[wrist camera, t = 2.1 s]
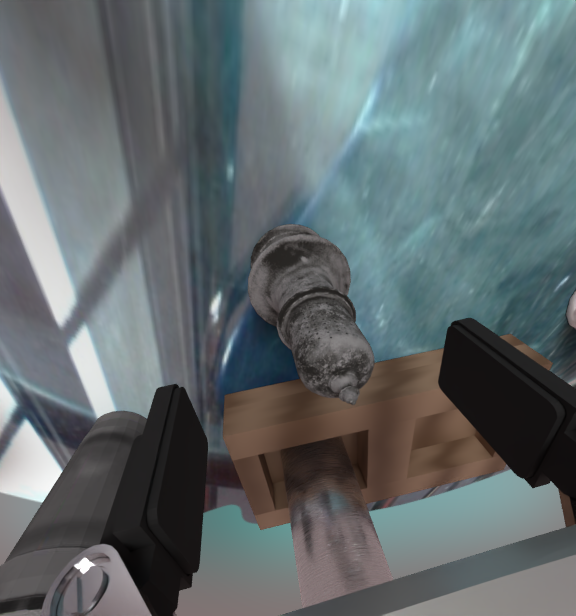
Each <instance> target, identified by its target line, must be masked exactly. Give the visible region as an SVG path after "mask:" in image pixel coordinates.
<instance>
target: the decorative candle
mask: <svg viewBox="0 0 576 616" xmlns="http://www.w3.org/2000/svg"><path fill="white" fill-rule="evenodd" d="M566 316H567V319H568V322H569V325H571V326H572V327H574V328H576V290H575V292H574V293H573V295H572V297H571V298H570V301H569V305H568V308H567V312H566Z"/></svg>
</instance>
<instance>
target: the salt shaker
mask: <svg viewBox="0 0 576 616" xmlns="http://www.w3.org/2000/svg"><path fill="white" fill-rule="evenodd" d="M350 282H351V279H350V268H349V265H348V262H347V260H346V257H345V256H344V255H343V253H342V252H341V251H340V249H339V248H338V247H337V246H335V245H334V244H333V243H331V242H330V241H328V240H327V239H324V238H321V237H320V236H319V235H318V234H317V233H316V232H314V231H313V230H311V229H310V228H308V227H305V226H302V225H295V224H287V225H282V226H278V227H276V228H274V229H272V230H270V231H268V232H267V233H266V234H265V235H264V236H263V237H261V238H260V240H259V241H258V243H257V244H256V246H255V247H254V250H253V253H252V256H251V272H250V275H249V278H248V293H249V297H250V301H251V304H252V306H253V307H254V309H255V311H256V312H257V314H258V315H259V316H261V317H262V318H263V319H264V320H265V321H266V322H268V323H270V324H272V325H274V326H276V327H277V330H278V334H279V337H280V339H281V340H282V342H283V343H284V344H285V345H286V346H287V347H288V348H289V349H291V350H292V353H293V357H294V361H295V365H296V368H297V372H298V376H299V377H300V379H301V381H302V382H303V384H304V385H305V387H306V388H307V389H309V390H310V391H311V392H313V393H315V394H318V395H320V396H322V397H327V398H339V399H340V400H341V401H343V402H346V403H348V404H351V405H355V404H356V401H357V399H358V396H359V394H360V391H359V389H361V388H362V387H363V386H364V385H365V384H366V383H367V382H368V380H369V378H370V377H371V374H372V371H373V368H374V355H373V352H372V349H371V346H370V344H369V343H368V341H367V340H366V338H365V337H364V335H363V334H362V332H361V331H360V329H359V328H358V326H357V325H356V323H355V321H356V312H355V308H354V306H353V303H352V302H351V300H350V299H349V298H348V297H347V295H348V291H349V287H350Z"/></svg>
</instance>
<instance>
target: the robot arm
mask: <svg viewBox="0 0 576 616" xmlns="http://www.w3.org/2000/svg"><path fill="white" fill-rule="evenodd" d="M438 384H439V387H440V389H441V390H442V392H443V393H444V394H445V395H446V396H447V397H448V398H449V400H450V401H451V402H452V403H453V404H454V405H455V406H456V408H457V409H458V410H459V411H460V412H461V413H462V414H463V415H464V417H465V418H466V419H467V420H468V421H469V422H470V423H471V424H472V426H473V427H474V428H475V429H476V430H477V431H478V432H479V433H480V435H481V436H482V437H483V438H484V439H485V440H486V441H487V443H488V444H489V445H490V446H491V447H492V448H493V449H494V450H495V452H496V453H497V454H498V455H499V456H500V457H501V458H502V459H503V461H504V462H505V463H506V464H507V465H508V466H509V467H510V468H511V470H512V471H513V472H514V473H515V474H516V475H517V476H519V477H520V478H524V479H525V480H526V481H527V482H528V483H529V484H530V485H531V487H532V488H535V487H538V486H542V485H546V484H548V483H550V481H552V482H553V483H554V485H555V486H556V487H557V488H558V489H559V493H560V499H561V504H562V509H563V514H564V519H565V524H566V528H563V529H560V530H556V531H552V532H549V533H546V534H543V535H539V536H536V537H533V538H529V539H526V540H522V541H519V542H516V543H513V544H510V545H506V546H503V547H499V548H496V549H493V550H489V551H486V552H483V553H480V554H476V555H473V556H470V557H467V558H464V559H460V560H457V561H454V562H450V563H447V564H444V565H440V566H437V567H434V568H431V569H427V570H424V571H421V572H418V573H414V574H411V575H408V576H405V577H402V578H398V579H395V580H392V581H388V582H385V583H382V584H379V585H375V586H372V587H369V588H366V589H363V590H360V591H356V592H353V593H350V594H347V595H344V596H340V597H337V598H334V599H331V600H328V601H324V602H321V603H318V604H315V605H312V606H308V607H305V608H302V609H299V610H296V611H292V612H289V613H286V614H283V615H280V616H576V389H575V388H574V387H572V386H571V385H569V384H568V383H566V382H565V381H563V380H562V379H560V378H559V377H557V376H556V375H555V374H553V373H552V372H550V371H549V370H547V369H546V368H544V367H543V366H541V365H540V364H539V363H537V362H536V361H534V360H533V359H531V358H530V357H528V356H527V355H525V354H524V353H523V352H521V351H520V350H518V349H517V348H515V347H514V346H512V345H511V344H509V343H508V342H507V341H505V340H504V339H502V338H501V337H499V336H498V335H496V334H495V333H493V332H492V331H491V330H489V329H488V328H486V327H485V326H483V325H482V324H480V323H479V322H477V321H476V320H474V319H472V318H466V319H462V320H457V321H454V322H452V323H451V326H450V327H448V330H447V334H446V340H445V345H444V351H443V356H442V362H441V367H440V373H439V378H438ZM207 455H208V442H207V438H206V435H205V433H204V431H203V428H202V426H201V424H200V422H199V419H198V417H197V415H196V413H195V410H194V408H193V406H192V404H191V401H190V399H189V397H188V395H187V392H186V390H185V388H184V387H180V388H179V386H178V385H177V384H173V385H168V386H164V387H160V388H158V389H157V390H156V392H155V395H154V399H153V402H152V405H151V409H150V412H149V415H148V418H147V422H146V425H145V428H144V431H143V434H142V435H139V436H137V437H136V438H135V440H134V442H133V444H132V447H131V450H130V453H129V456H128V459H127V462H126V465H125V468H124V471H123V475H122V478H121V481H120V484H119V487H118V490H117V493H116V496H115V499H114V502H113V505H112V508H111V511H110V514H109V517H108V520H107V523H106V526H105V529H104V532H103V535H102V538H101V541H100V544H99V545H95V546H92V547H90V548H88V549H86V550H84V551H82V552H81V553H80V554H79V555H77V556H76V557H75V558H73V559H72V560H71V561H70V562H69V563H68V564H67V565H66V566H65V567H64V569H63V570H62V571H61V572H60V573H59V575H58V576H57V578H56V579H55V581H54V582H53V584H52V585H51V587H50V589H49V591H48V593H47V595H46V597H45V600H44V603H43V607H42V611H41V615H40V616H177V615H176V614H175V610H176V609H177V605H178V596H179V591H180V590H183V589H187V588H190V587H191V586H192V576H193V573H195V572H197V571H198V569H199V564H200V551H201V537H202V524H203V523H202V522H203V510H204V496H205V482H206V468H207Z"/></svg>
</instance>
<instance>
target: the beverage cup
mask: <svg viewBox="0 0 576 616" xmlns="http://www.w3.org/2000/svg"><path fill="white" fill-rule="evenodd" d="M146 422H147V419H146V418H144V417H143V416H141V415H139V414H136V413H133V412H126V411H116V412H111V413H107V414H104V415H103V416H101V417H100V418H98V419H97V421H96V422H95V424H94V425H93V427H92V429H91V430H90V432H89V433H88V434H87V435H86V436H85V438H84V439H83V441H82V442H81V444H80V445H79V447H78V448H77V450H76V452H75V453H74V455H73V456H72V458H71V459H70V461H69V463H68V464H67V466H66V467H65V469H64V470H63V472H62V473H61V475H60V477H59V478H58V480H57V481H56V483H55V484H54V486H53V488H52V489H51V491H50V492H49V494H48V495H47V497H46V499H45V500H44V502H43V503H42V505H41V507H40V508H39V509H38V511H37V513H36V514H35V516H34V518H33V519H32V521H31V522H30V524H29V525H28V527H27V528H26V530H25V531H24V533H23V535H22V536H21V538H20V539H19V541H18V543H17V544H16V546H15V547H14V549H13V550H12V552H11V553H10V555H9V557H8V558H7V560H6V561H5V563H4V564H3V565H1V566H0V616H40V615H41V611H42V607H43V603H44V600H45V597H46V595H47V593H48V591H49V589H50V587H51V585H52V584H53V582H54V581H55V579H56V578H57V576H58V575H59V573H60V572H61V571H62V570H63V569H64V567H65V566H66V565H67V564H68V563H69V562H70V561H71V560H72V559H73V558H75V557H76V556H77V555H79V554H80V553H81V552H82V551H84V550H86V549H88V548H90V547H92V546H95V545H99V544H100V541H101V538H102V535H103V532H104V529H105V526H106V523H107V520H108V517H109V514H110V511H111V508H112V505H113V502H114V499H115V496H116V493H117V490H118V487H119V484H120V481H121V478H122V475H123V471H124V468H125V465H126V462H127V459H128V456H129V453H130V450H131V447H132V444H133V442H134V440H135V438H136V437H137V436H139V435H142V434H143V431H144V428H145V425H146Z"/></svg>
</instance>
